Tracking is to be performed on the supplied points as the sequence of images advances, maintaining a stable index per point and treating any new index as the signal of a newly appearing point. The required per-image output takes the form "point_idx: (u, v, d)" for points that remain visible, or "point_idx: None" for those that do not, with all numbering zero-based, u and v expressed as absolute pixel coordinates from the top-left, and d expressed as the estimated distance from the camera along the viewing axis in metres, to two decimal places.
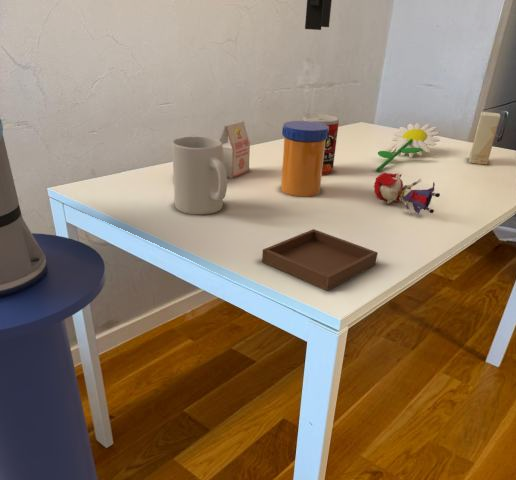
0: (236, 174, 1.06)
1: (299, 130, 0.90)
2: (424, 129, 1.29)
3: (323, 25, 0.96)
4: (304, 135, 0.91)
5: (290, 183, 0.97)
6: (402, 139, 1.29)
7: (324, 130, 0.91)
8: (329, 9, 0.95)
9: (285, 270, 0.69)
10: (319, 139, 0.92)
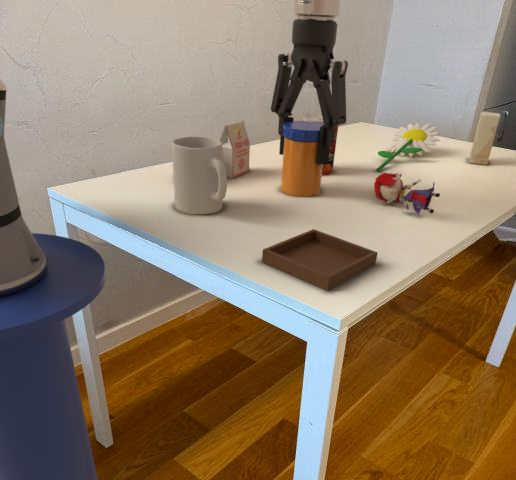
0: (236, 174, 1.06)
1: (299, 130, 0.90)
2: (424, 129, 1.29)
3: None
4: (304, 135, 0.91)
5: (290, 183, 0.97)
6: (402, 139, 1.29)
7: None
8: (318, 148, 0.92)
9: (285, 270, 0.69)
10: None
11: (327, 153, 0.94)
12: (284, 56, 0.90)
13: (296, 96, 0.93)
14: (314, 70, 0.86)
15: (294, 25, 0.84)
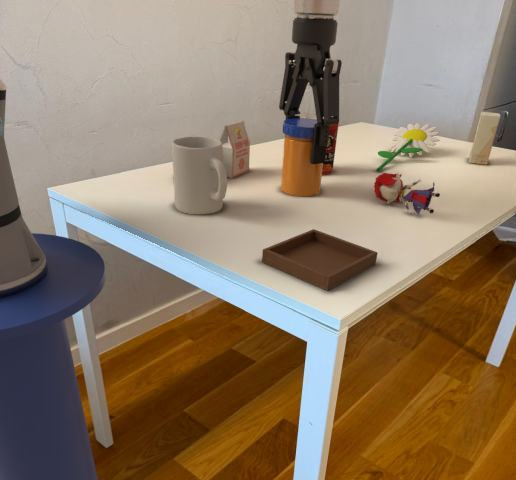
0: (236, 174, 1.06)
1: None
2: (424, 129, 1.29)
3: None
4: None
5: (290, 183, 0.97)
6: (402, 139, 1.29)
7: None
8: None
9: (285, 270, 0.69)
10: None
11: None
12: None
13: None
14: None
15: (336, 25, 0.85)
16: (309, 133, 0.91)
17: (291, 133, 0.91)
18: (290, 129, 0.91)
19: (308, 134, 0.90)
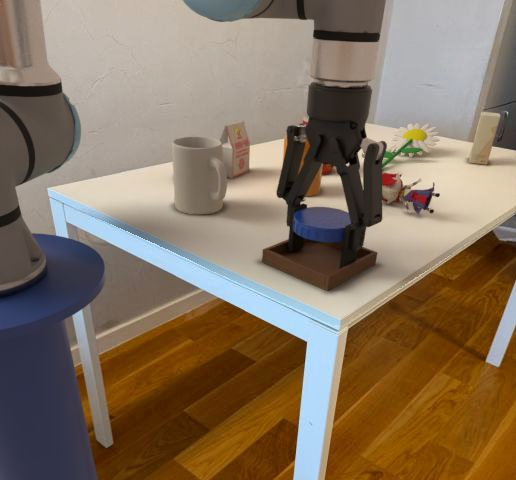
0: (236, 174, 1.06)
1: None
2: (424, 129, 1.30)
3: (299, 247, 0.74)
4: None
5: None
6: (402, 139, 1.29)
7: None
8: None
9: (285, 270, 0.69)
10: None
11: None
12: None
13: None
14: None
15: None
16: (338, 236, 0.66)
17: (313, 236, 0.66)
18: (311, 231, 0.66)
19: (337, 237, 0.66)
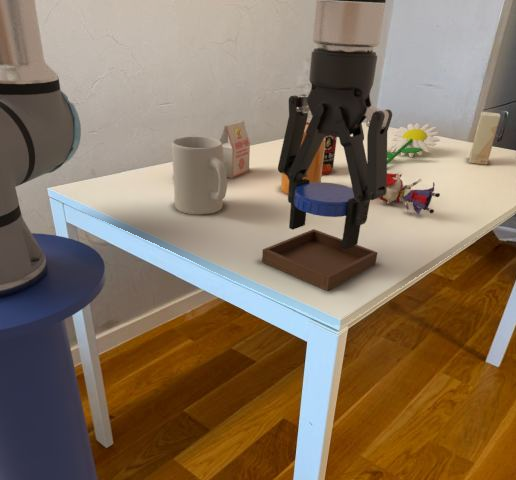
0: (236, 174, 1.06)
1: None
2: (424, 129, 1.30)
3: (300, 225, 0.72)
4: None
5: None
6: (402, 139, 1.29)
7: None
8: None
9: (285, 270, 0.69)
10: None
11: None
12: None
13: None
14: None
15: None
16: (341, 210, 0.64)
17: (315, 211, 0.64)
18: (313, 205, 0.64)
19: (340, 211, 0.64)
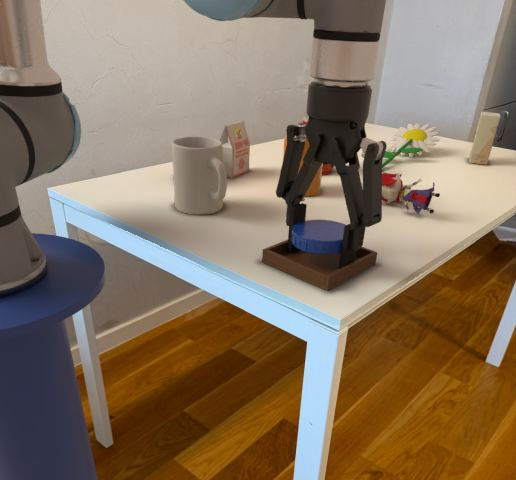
0: (236, 174, 1.06)
1: None
2: (424, 129, 1.30)
3: None
4: None
5: None
6: (402, 139, 1.29)
7: None
8: None
9: (285, 270, 0.69)
10: None
11: None
12: None
13: None
14: None
15: None
16: (336, 248, 0.67)
17: (311, 249, 0.67)
18: (309, 244, 0.67)
19: (335, 249, 0.67)
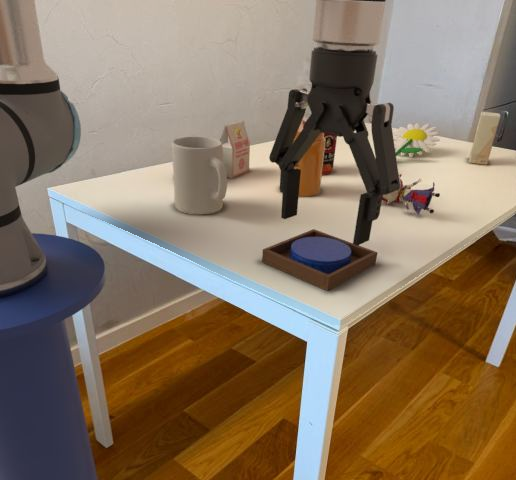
0: (236, 174, 1.06)
1: None
2: (424, 129, 1.30)
3: (292, 215, 0.73)
4: None
5: None
6: (402, 139, 1.29)
7: None
8: (297, 195, 0.72)
9: (285, 270, 0.69)
10: None
11: None
12: None
13: None
14: None
15: None
16: (333, 267, 0.69)
17: None
18: (308, 263, 0.68)
19: (333, 268, 0.68)
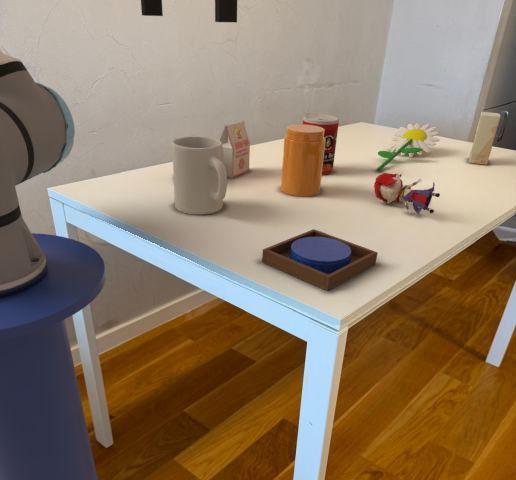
0: (236, 174, 1.06)
1: None
2: (424, 129, 1.30)
3: (156, 13, 0.64)
4: None
5: (290, 183, 0.97)
6: (402, 139, 1.29)
7: None
8: None
9: (285, 270, 0.69)
10: None
11: None
12: None
13: None
14: None
15: None
16: (333, 267, 0.69)
17: None
18: (308, 263, 0.68)
19: (333, 268, 0.68)
